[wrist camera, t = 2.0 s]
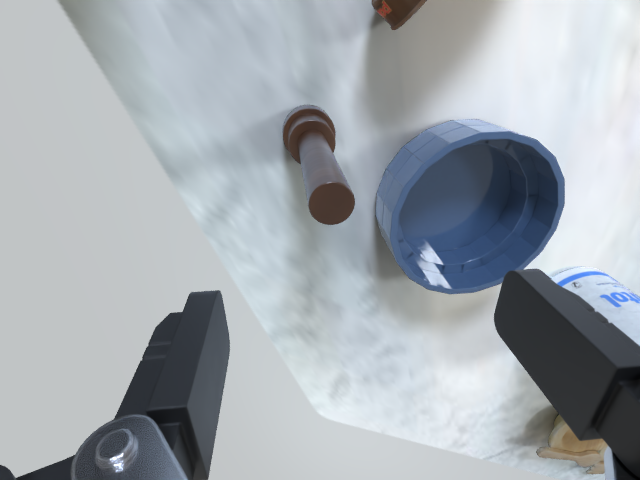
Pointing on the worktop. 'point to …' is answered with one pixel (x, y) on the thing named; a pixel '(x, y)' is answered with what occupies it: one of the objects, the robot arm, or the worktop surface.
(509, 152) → the bowl
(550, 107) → the worktop surface
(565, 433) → the tableware set
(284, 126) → the muddler
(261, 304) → the worktop surface
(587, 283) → the supplement tub
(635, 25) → the worktop surface
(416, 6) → the tin
